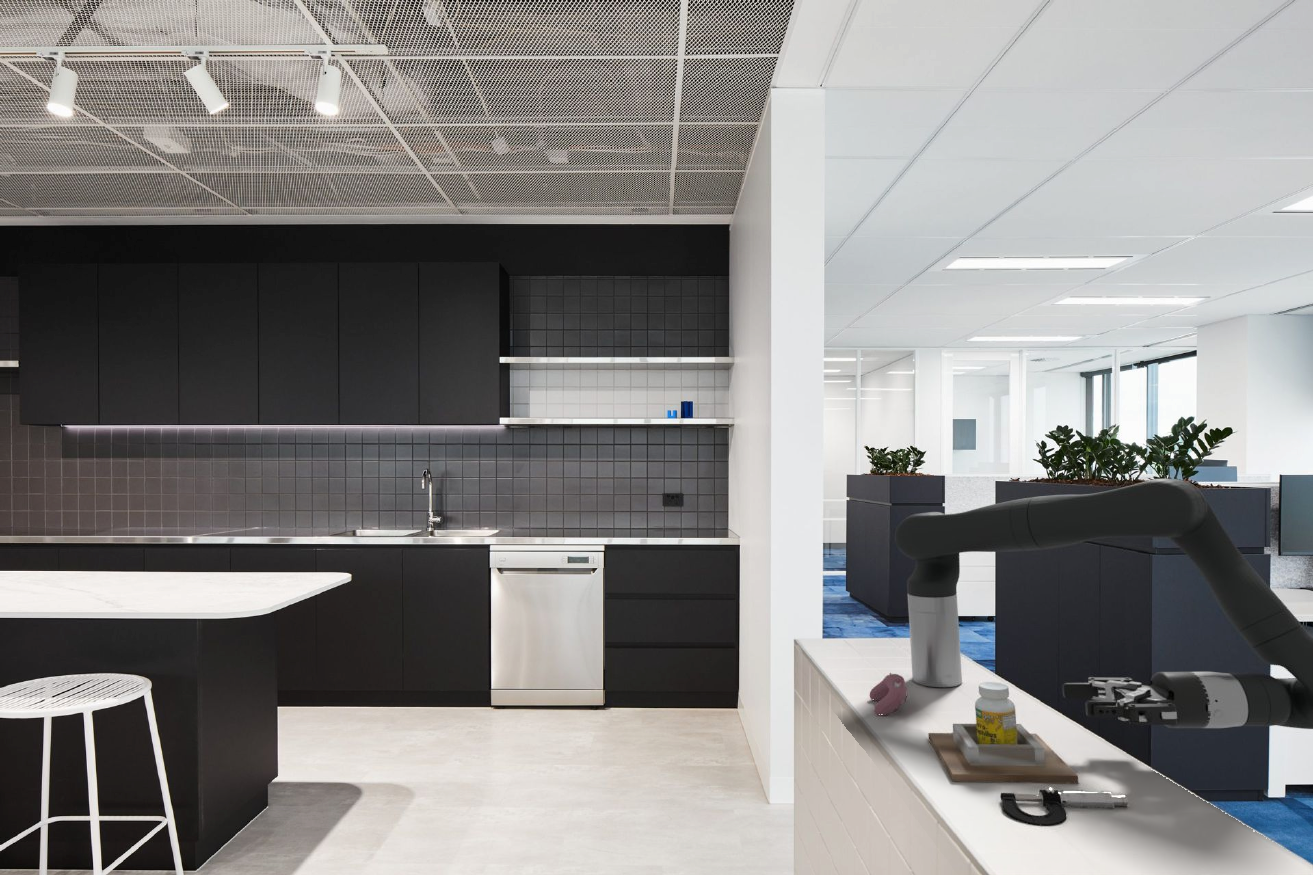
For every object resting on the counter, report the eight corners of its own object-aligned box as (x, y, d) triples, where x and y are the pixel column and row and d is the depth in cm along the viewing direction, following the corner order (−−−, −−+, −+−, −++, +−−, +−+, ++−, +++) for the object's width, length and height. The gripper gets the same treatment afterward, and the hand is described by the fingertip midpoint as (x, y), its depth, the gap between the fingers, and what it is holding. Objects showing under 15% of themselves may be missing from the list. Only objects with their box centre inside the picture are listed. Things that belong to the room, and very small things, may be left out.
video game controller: (898, 726, 130) (914, 689, 130) (872, 713, 131) (889, 677, 131) (890, 707, 140) (906, 673, 140) (867, 696, 141) (882, 662, 141)
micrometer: (1011, 827, 91) (1009, 806, 91) (995, 801, 98) (994, 781, 98) (1148, 833, 88) (1147, 810, 88) (1122, 805, 95) (1121, 785, 95)
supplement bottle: (1026, 754, 109) (1022, 687, 109) (998, 761, 107) (994, 693, 107) (996, 742, 114) (992, 678, 114) (969, 749, 112) (965, 683, 112)
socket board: (928, 739, 119) (927, 716, 119) (1036, 739, 117) (1035, 717, 117) (953, 781, 103) (951, 755, 104) (1078, 783, 101) (1076, 756, 101)
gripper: (1169, 659, 114) (1054, 660, 116) (1225, 687, 100) (1093, 687, 102) (1173, 710, 113) (1057, 710, 116) (1230, 745, 99) (1097, 744, 102)
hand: (1074, 699), depth 109 cm, fingers open, 8 cm apart
